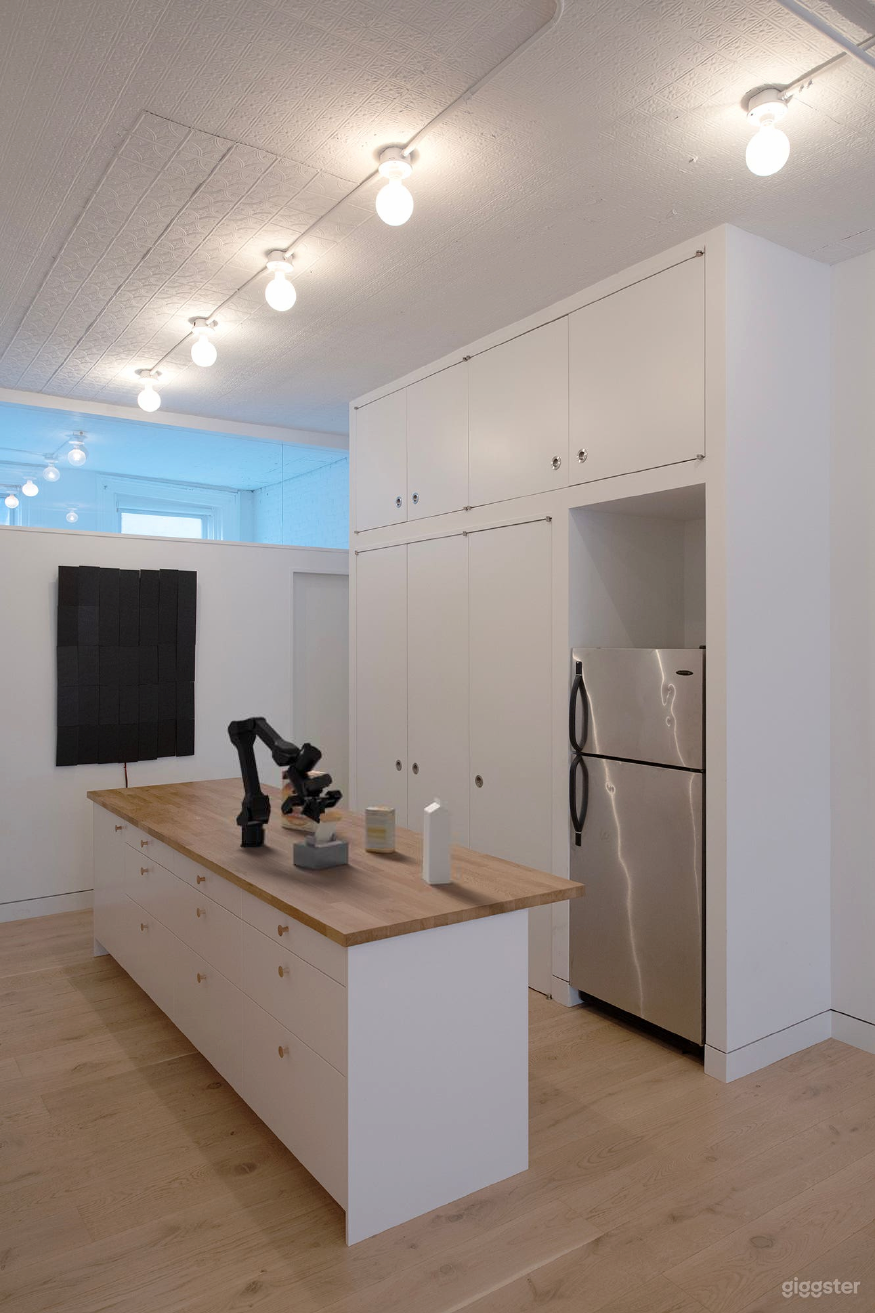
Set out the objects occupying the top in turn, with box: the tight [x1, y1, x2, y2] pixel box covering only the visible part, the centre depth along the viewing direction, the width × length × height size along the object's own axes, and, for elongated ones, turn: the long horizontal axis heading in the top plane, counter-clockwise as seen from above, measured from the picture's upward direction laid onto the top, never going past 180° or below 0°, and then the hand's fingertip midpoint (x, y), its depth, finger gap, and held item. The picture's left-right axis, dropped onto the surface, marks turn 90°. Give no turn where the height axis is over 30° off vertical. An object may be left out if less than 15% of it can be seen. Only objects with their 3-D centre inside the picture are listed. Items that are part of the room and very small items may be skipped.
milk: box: [422, 796, 452, 886], centre depth 235 cm, size 6×6×22 cm
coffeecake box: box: [280, 769, 328, 833], centre depth 302 cm, size 15×7×20 cm, turn 55°
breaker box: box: [292, 832, 350, 871], centre depth 252 cm, size 10×12×8 cm
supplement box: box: [364, 806, 396, 854], centre depth 269 cm, size 8×5×13 cm, turn 65°
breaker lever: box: [313, 810, 343, 843], centre depth 251 cm, size 2×6×9 cm
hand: (324, 825), depth 251 cm, fingers closed, pressing on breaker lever
